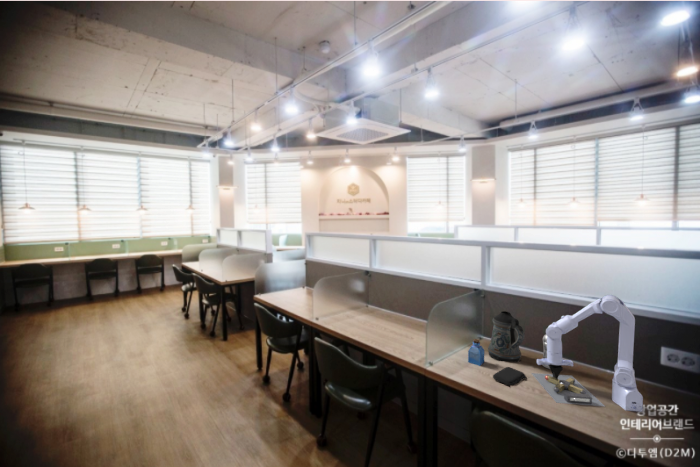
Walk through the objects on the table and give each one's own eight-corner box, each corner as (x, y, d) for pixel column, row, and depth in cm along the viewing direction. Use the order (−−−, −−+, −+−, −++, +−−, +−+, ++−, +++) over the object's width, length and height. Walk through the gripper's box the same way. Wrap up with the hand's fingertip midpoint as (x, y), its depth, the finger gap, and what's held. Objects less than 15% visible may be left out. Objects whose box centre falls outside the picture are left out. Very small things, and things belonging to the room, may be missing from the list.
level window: (593, 405, 121) (593, 398, 121) (568, 403, 122) (568, 397, 122) (588, 400, 124) (588, 394, 124) (564, 398, 126) (564, 392, 125)
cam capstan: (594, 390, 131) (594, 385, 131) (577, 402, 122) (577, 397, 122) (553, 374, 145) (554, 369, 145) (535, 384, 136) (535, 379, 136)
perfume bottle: (484, 361, 161) (484, 339, 160) (480, 366, 156) (480, 343, 156) (472, 358, 165) (472, 336, 164) (468, 362, 160) (468, 340, 160)
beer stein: (494, 347, 178) (494, 306, 177) (531, 358, 164) (531, 313, 163) (483, 356, 167) (483, 312, 165) (521, 368, 153) (522, 320, 152)
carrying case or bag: (513, 390, 134) (529, 379, 143) (513, 383, 134) (529, 373, 143) (491, 379, 143) (507, 370, 152) (491, 373, 143) (507, 364, 151)
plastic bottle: (543, 363, 158) (544, 326, 157) (558, 368, 153) (559, 329, 152) (540, 368, 153) (540, 329, 152) (556, 372, 148) (556, 333, 147)
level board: (605, 408, 120) (605, 406, 120) (556, 404, 123) (556, 402, 123) (571, 377, 144) (571, 375, 144) (530, 374, 147) (530, 373, 147)
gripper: (567, 348, 141) (567, 376, 141) (533, 347, 143) (534, 375, 144) (575, 354, 134) (576, 384, 134) (540, 353, 136) (540, 382, 137)
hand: (554, 380), depth 138 cm, fingers closed, pressing on cam capstan
